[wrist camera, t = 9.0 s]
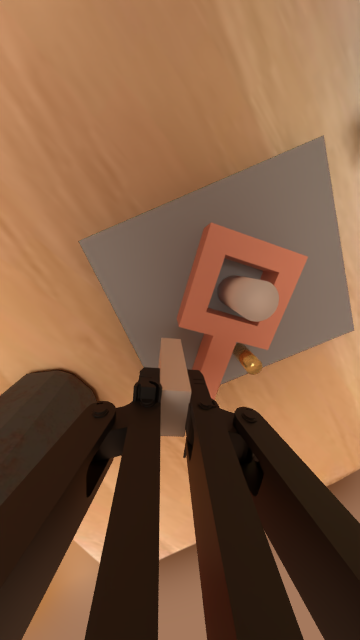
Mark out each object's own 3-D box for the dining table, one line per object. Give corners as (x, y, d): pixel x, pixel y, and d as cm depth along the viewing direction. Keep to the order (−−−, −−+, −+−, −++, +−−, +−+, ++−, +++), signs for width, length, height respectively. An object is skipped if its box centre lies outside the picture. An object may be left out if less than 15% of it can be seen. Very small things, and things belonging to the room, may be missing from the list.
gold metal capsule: (243, 341, 23) (259, 356, 19) (247, 353, 24) (264, 370, 20) (230, 346, 23) (244, 363, 19) (234, 358, 24) (248, 377, 20)
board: (312, 144, 20) (397, 77, 13) (343, 326, 26) (414, 351, 18) (84, 242, 20) (42, 232, 13) (164, 399, 26) (165, 451, 19)
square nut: (203, 228, 20) (211, 222, 17) (288, 257, 21) (308, 256, 18) (159, 375, 23) (158, 391, 21) (233, 391, 25) (242, 408, 22)
